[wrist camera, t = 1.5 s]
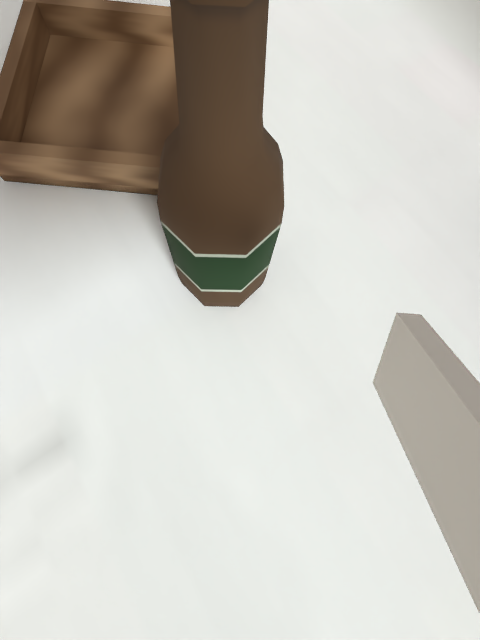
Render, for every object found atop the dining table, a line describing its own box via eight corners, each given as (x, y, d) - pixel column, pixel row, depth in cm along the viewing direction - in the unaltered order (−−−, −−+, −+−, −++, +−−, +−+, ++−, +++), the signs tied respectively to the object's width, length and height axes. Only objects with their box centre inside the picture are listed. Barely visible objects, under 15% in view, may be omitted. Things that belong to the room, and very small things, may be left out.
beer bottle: (166, 247, 33) (31, -154, 10) (245, 220, 34) (293, -201, 11) (196, 325, 31) (119, 60, 8) (279, 293, 32) (420, -20, 9)
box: (215, 51, 39) (214, 11, 35) (197, 198, 34) (193, 171, 30) (46, 34, 39) (26, -9, 35) (4, 180, 34) (-24, 150, 30)
